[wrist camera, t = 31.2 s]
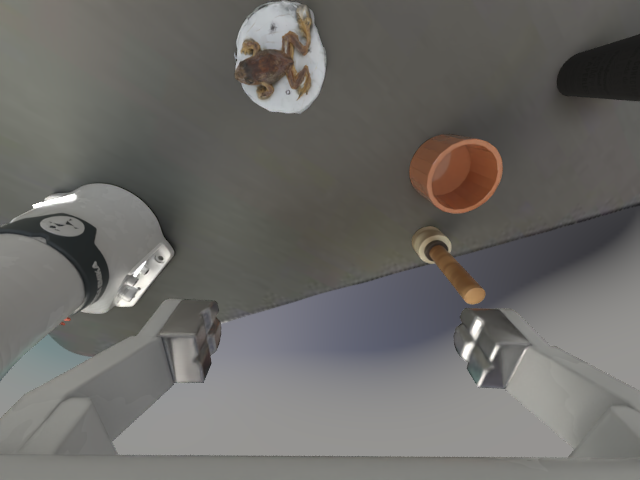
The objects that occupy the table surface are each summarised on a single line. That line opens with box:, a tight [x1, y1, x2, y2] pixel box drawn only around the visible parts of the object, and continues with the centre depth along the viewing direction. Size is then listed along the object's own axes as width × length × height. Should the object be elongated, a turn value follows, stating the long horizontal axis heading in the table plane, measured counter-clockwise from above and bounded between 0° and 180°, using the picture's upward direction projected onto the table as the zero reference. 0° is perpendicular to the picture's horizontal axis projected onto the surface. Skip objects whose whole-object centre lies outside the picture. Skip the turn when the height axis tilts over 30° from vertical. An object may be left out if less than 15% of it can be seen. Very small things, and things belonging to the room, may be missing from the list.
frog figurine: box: [234, 0, 327, 114], centre depth 32 cm, size 12×12×4 cm
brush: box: [412, 226, 485, 304], centre depth 38 cm, size 5×5×15 cm
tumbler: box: [409, 134, 503, 214], centre depth 37 cm, size 9×9×7 cm
